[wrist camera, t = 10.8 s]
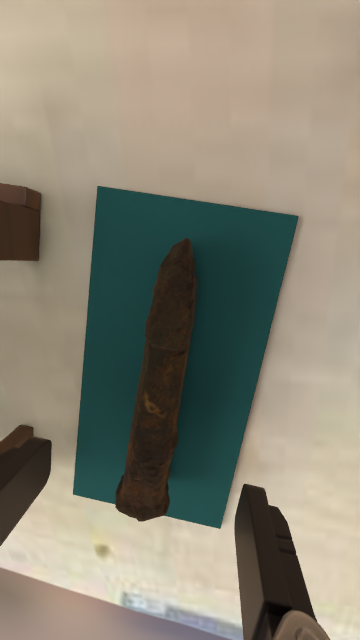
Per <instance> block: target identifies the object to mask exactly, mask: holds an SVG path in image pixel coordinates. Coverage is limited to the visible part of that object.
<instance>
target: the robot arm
mask: <svg viewBox="0 0 360 640" xmlns="http://www.w3.org/2000/svg"><path fill="white" fill-rule="evenodd" d="M51 447H52V443H51V441H50V440H47V439H43V438H38V437H34V436H32V437H30V438H29V439H28V440H27V441H26V442H25V443H24V444H23V445H22V446H20V447H19V448H16V447H13V448H11V449H10V450H8V451H6V452H4V453H2V454H1V455H0V546H1V545H2V543H3V542H4V541H5V539H6V538H7V537H8V535H9V534H10V533H11V531H12V530H13V528H14V527H15V526H16V524H17V523H18V522H19V520H20V519H21V518H22V516H23V515H24V514H25V512H26V511H27V509H28V508H29V507H30V505H31V504H32V503H33V501H34V500H35V499H36V497H37V496H38V495H39V493H40V492H41V490H42V489H43V488H44V486H45V485H46V483H47V481H48V478H49V475H50V471H51ZM235 543H236V555H237V567H238V578H239V590H240V601H241V613H242V625H243V636H244V640H330V638H329V637H328V635H327V634H326V632H325V631H324V630H323V628H322V627H321V626H320V625H319V624H318V622H317V620H316V618H315V615H314V612H313V609H312V605H311V602H310V598H309V595H308V592H307V588H306V585H305V581H304V578H303V574H302V571H301V568H300V564H299V561H298V557H297V556H296V550H295V547H294V544H293V541H292V537H291V533H290V530H289V526H288V523H287V521H286V519H285V518H284V516H283V515H282V513H281V512H280V510H279V509H278V507H274V506H270V505H268V501H267V496H266V492H265V489H264V488H261V487H257V486H252V485H248V484H244V485H243V488H242V491H241V495H240V499H239V503H238V507H237V511H236V516H235Z"/></svg>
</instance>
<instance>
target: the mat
mask: <svg viewBox="0 0 360 640" xmlns="http://www.w3.org/2000/svg"><path fill="white" fill-rule="evenodd" d="M297 221H298V216H294V215H288V214H281V213H274V212H268V211H261V210H254V209H248V208H241V207H234V206H228V205H221V204H214V203H207V202H201V201H194V200H187V199H181V198H174V197H167V196H161V195H154V194H147V193H141V192H134V191H127V190H121V189H114V188H107V187H101V186H98V188H97V200H96V213H95V225H94V238H93V250H92V263H91V275H90V288H89V300H88V313H87V326H86V338H85V351H84V363H83V376H82V388H81V401H80V413H79V426H78V438H77V451H76V463H75V476H74V489H73V495H78V496H82V497H86V498H91V499H95V500H99V501H103V502H108V503H112V504H115V492H116V489H117V487H118V485H119V482H120V480H121V477H122V475H123V474H124V473H125V463H126V457H127V450H128V443H129V438H130V432H131V425H132V419H133V413H134V407H135V399H136V394H137V390H138V385H139V378H140V374H141V369H142V361H143V354H144V346H145V341H146V337H145V323H146V320H147V317H148V315H149V310H150V308H151V305H152V301H153V288H154V285H155V282H156V280H157V275H158V271H159V268H160V265H161V263H162V262H163V260H164V259H165V257H166V256H167V254H168V253H169V251H170V250H171V248H172V246H173V245H175V244H177V243H178V242H181V241H182V240H184V239H185V238H189V239H190V241H191V246H192V252H193V260H194V261H195V275H196V277H198V280H197V289H196V290H197V299H196V310H195V313H194V314H195V319H194V325H193V329H192V333H191V339H190V348H189V352H188V359H187V365H186V371H185V376H184V382H183V389H182V395H181V403H180V409H179V415H178V422H177V432H178V444H177V446H176V448H175V449H174V454H173V457H172V460H171V463H170V466H169V469H170V470H171V472H170V477H169V479H168V481H167V482H168V487H169V490H168V495H169V498H170V504H169V508H168V511H167V513H166V515H164V516H168V517H172V518H176V519H181V520H185V521H189V522H193V523H198V524H202V525H206V526H211V527H215V528H219V529H220V528H221V524H222V520H223V516H224V512H225V508H226V504H227V500H228V496H229V492H230V488H231V484H232V480H233V476H234V472H235V468H236V464H237V460H238V456H239V452H240V448H241V444H242V440H243V436H244V432H245V428H246V424H247V420H248V416H249V412H250V408H251V404H252V400H253V396H254V392H255V388H256V384H257V380H258V376H259V372H260V368H261V364H262V360H263V356H264V352H265V348H266V344H267V340H268V336H269V332H270V328H271V324H272V320H273V316H274V312H275V308H276V304H277V300H278V296H279V292H280V288H281V284H282V280H283V276H284V273H285V269H286V265H287V261H288V257H289V253H290V249H291V245H292V241H293V237H294V233H295V229H296V225H297Z"/></svg>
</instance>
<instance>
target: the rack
mask: <svg viewBox="0 0 360 640" xmlns="http://www.w3.org/2000/svg"><path fill="white" fill-rule="evenodd" d="M40 195H41V194H40V193H39V192H37V191H34V190H32V189H29V188H27V187H22V186H16V185H9V184H2V183H0V260H16V261H38V256H39V226H40V212H39V211H40ZM32 436H33V428H31V427H27V426H22V425H20V426H18V427H17V428H16V429H15V430H14V431H13V432H11V433H10V434H9V435H8V436H7V437H6V438H4V439H3V440H2V441H1V442H0V455H1V454H2V453H4V452H6V451H8V450H10V449H11V448H13V447H16V448H19V447H20V446H22V445H23V444H24V443H25V442H26V441H27V440H28V439H29V438H30V437H32Z"/></svg>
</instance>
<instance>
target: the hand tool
mask: <svg viewBox="0 0 360 640" xmlns="http://www.w3.org/2000/svg"><path fill="white" fill-rule="evenodd" d="M197 280H198V277H196V275H195V261H194V260H193V252H192V246H191V241H190V239H189V238H185V239H184V240H182V241H181V242H178V243H177V244H175V245H173V246H172V248H171V250H170V251H169V253H168V254H167V256H166V257H165V259H164V260H163V262H162V263H161V265H160V268H159V271H158V275H157V280H156V282H155V285H154V288H153V301H152V305H151V308H150V310H149V315H148V317H147V320H146V323H145V337H146V341H145V346H144V354H143V361H142V369H141V374H140V378H139V385H138V390H137V394H136V399H135V407H134V413H133V419H132V425H131V432H130V438H129V443H128V450H127V457H126V463H125V473H124V474H123V475H122V477H121V480H120V482H119V485H118V487H117V489H116V492H115V505H116V508H117V509H118V511H119V512H121V513H123V514H126V515H128V516H129V517H133V518H136V519H137V520H138V521H146V520H150V519H152V518H155V517H160V516H164V515H166V513H167V511H168V508H169V504H170V498H169V495H168V490H169V487H168V482H167V481H168V479H169V477H170V472H171V470H170V469H169V466H170V463H171V460H172V457H173V454H174V449H175V448H176V446H177V444H178V432H177V422H178V415H179V409H180V403H181V395H182V389H183V382H184V376H185V371H186V365H187V359H188V352H189V348H190V339H191V333H192V329H193V325H194V319H195V314H194V313H195V310H196V299H197V290H196V289H197Z"/></svg>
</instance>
